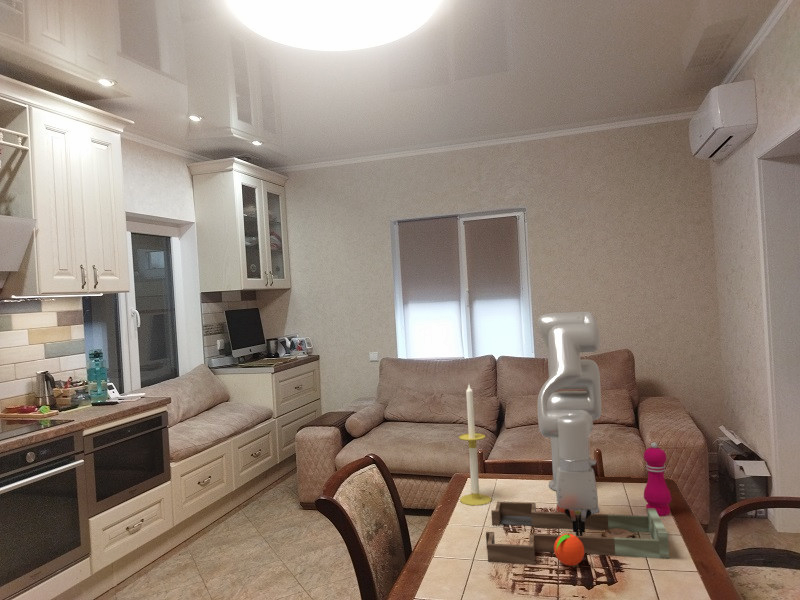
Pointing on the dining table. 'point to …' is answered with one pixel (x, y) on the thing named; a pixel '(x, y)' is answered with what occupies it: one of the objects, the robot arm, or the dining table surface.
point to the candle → (473, 456)
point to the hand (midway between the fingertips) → (579, 534)
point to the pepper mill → (656, 481)
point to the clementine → (569, 549)
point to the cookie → (618, 533)
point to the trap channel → (592, 545)
